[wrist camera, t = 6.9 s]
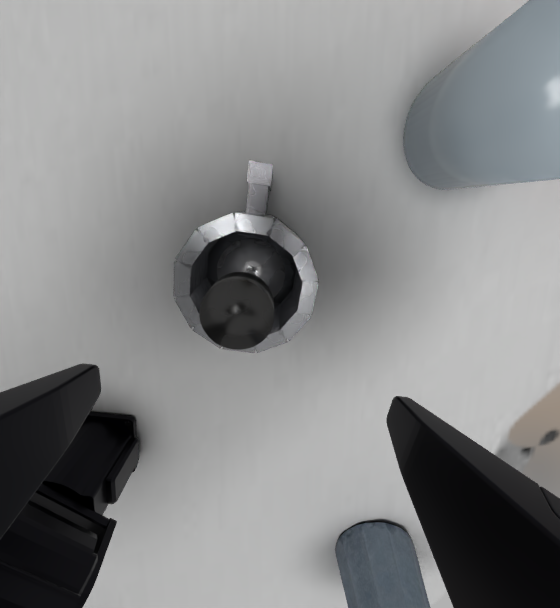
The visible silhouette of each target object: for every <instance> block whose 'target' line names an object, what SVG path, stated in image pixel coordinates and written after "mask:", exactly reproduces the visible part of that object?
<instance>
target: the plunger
mask: <svg viewBox="0 0 560 608" xmlns="http://www.w3.org/2000/svg"><path fill="white" fill-rule="evenodd" d="M217 277H218V280H217V281H216V282H215V283H214V284H213V286H212V287H211V288H210V290H209V291H208V292H207V293H206V295H205V296H204V298H203V300H202V302H201V305H200V310H199V317H200V322H201V325H202V328H203V330H204V331H205V333H206V334H207V335H208V337H209V338H210V339H211V340H213V341H214V342H215V343H217V344H219V345H220V346H223V347H225V348H229V349H236V350H241V349H248V348H251V347H254V346H256V345H258V344H259V343H261V342H262V341H263V340H264V339H265V338H266V337H267V336H268V335H269V333H270V331H271V329H272V327H273V323H274V297H275V296H276V295H277V294H278V293H279V291H280V290H281V288H282V286H283V283H284V279H285V268H284V263H283V260H282V258H281V256H280V254H279V252H278V251H277V250H276V249H275V248H274V247H273V246H272V245H270V244H269V243H267V242H265V241H263V240H260V239H256V238H245V239H241V240H238V241H236V242H234V243H232V244H231V245H230V246H229V247H227V248H226V249H225V251H224V252H223V253H222V255H221V256H220V259H219V261H218V265H217Z"/></svg>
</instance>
